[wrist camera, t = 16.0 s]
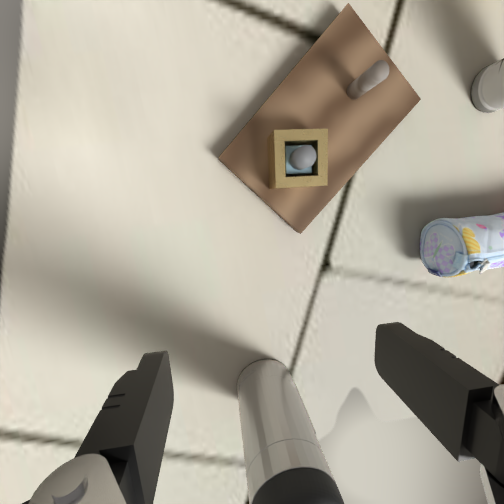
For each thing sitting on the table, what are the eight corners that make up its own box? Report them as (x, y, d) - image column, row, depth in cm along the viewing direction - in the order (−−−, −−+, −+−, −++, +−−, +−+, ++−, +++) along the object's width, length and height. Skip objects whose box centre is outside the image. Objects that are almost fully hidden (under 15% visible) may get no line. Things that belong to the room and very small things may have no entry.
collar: (315, 136, 33) (327, 128, 30) (315, 186, 35) (327, 185, 31) (267, 137, 33) (273, 129, 29) (269, 189, 34) (275, 188, 30)
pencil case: (411, 269, 42) (465, 289, 33) (412, 217, 40) (471, 222, 31) (521, 253, 44) (601, 267, 35) (528, 202, 42) (614, 203, 33)
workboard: (409, 104, 36) (458, 81, 29) (296, 231, 38) (315, 239, 31) (340, 14, 33) (376, -38, 25) (218, 159, 34) (219, 149, 27)
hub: (303, 149, 34) (319, 140, 28) (303, 174, 34) (319, 170, 29) (279, 150, 33) (291, 141, 28) (280, 175, 34) (292, 171, 29)
